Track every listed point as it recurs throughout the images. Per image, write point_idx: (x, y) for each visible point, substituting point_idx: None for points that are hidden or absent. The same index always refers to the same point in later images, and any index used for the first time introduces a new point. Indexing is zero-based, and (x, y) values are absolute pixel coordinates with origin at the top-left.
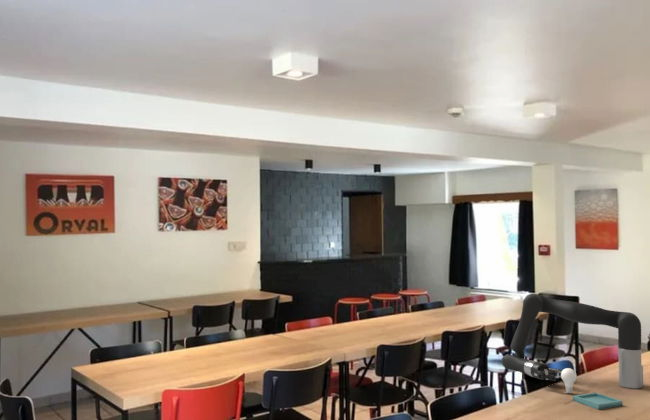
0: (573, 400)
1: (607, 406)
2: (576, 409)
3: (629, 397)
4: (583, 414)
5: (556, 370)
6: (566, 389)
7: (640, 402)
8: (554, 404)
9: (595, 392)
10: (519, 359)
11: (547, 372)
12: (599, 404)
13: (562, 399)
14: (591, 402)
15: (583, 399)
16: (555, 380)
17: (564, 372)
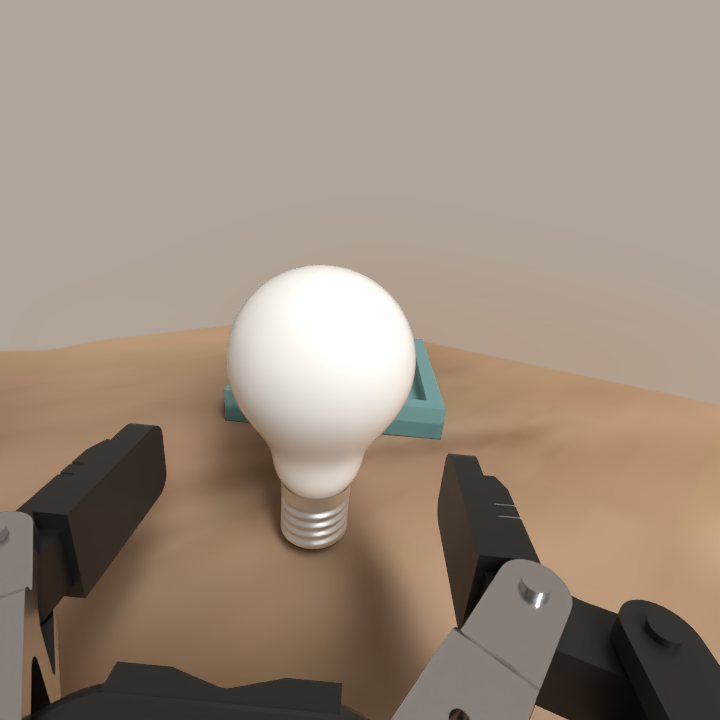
0: (440, 434)
1: None
2: (520, 386)
3: (76, 365)
4: (525, 363)
5: (26, 630)
6: (346, 504)
7: (149, 338)
8: (614, 447)
9: (228, 390)
10: None
11: (468, 635)
12: (416, 339)
13: (499, 475)
14: (427, 354)
15: (433, 372)
16: (442, 502)
17: (405, 316)
